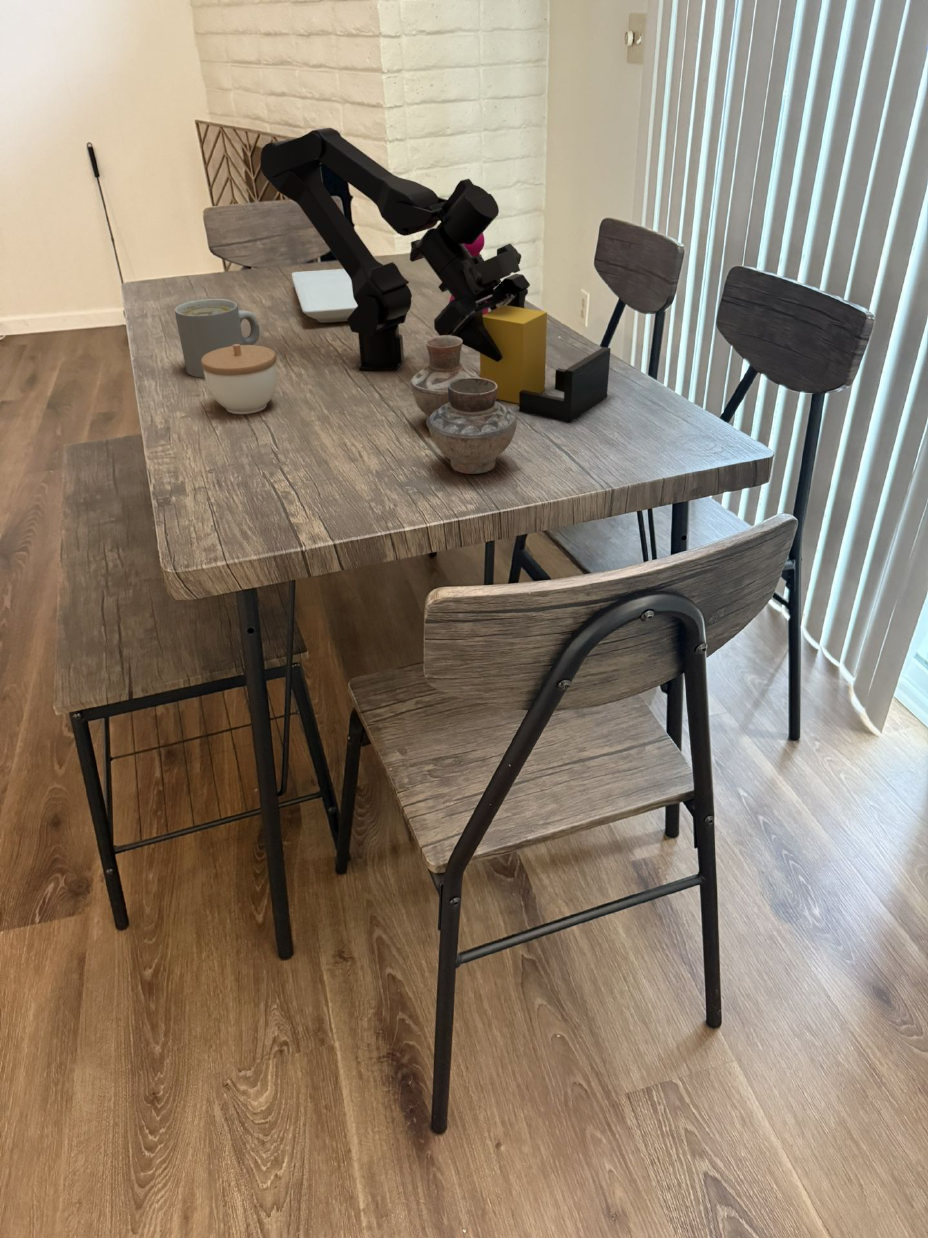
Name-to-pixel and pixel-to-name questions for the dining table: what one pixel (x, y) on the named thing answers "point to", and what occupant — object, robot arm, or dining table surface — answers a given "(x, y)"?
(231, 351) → the trinket box
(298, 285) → the tray
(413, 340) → the dining table surface
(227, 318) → the coffee mug
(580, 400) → the rack
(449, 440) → the pottery
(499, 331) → the storage box
